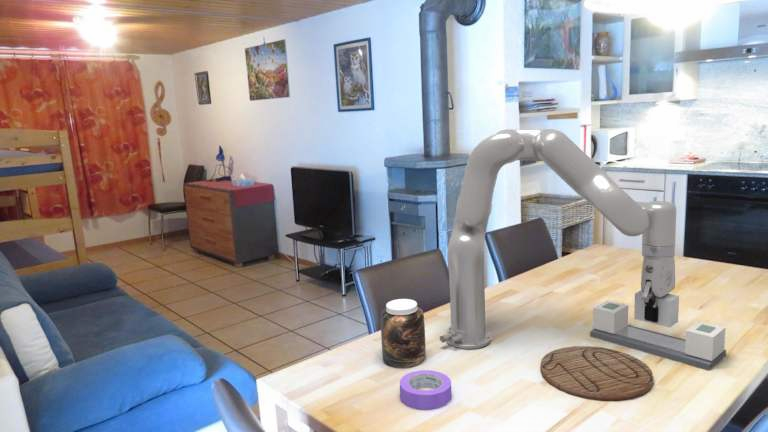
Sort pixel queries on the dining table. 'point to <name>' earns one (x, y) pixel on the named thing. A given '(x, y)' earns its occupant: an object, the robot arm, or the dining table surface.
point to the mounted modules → (699, 337)
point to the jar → (403, 334)
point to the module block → (659, 309)
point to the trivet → (596, 373)
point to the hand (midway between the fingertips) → (656, 317)
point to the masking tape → (425, 397)
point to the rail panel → (656, 345)
